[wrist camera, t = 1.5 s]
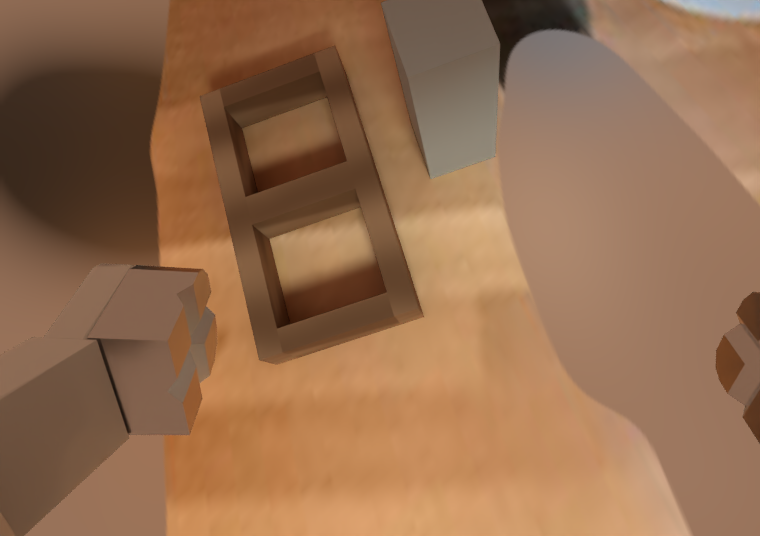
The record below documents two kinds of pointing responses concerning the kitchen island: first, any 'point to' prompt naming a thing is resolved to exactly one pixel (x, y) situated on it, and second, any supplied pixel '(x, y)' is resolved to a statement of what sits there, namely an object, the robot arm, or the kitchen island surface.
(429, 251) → the kitchen island surface
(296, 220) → the rail
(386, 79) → the kitchen island surface
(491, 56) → the peg
